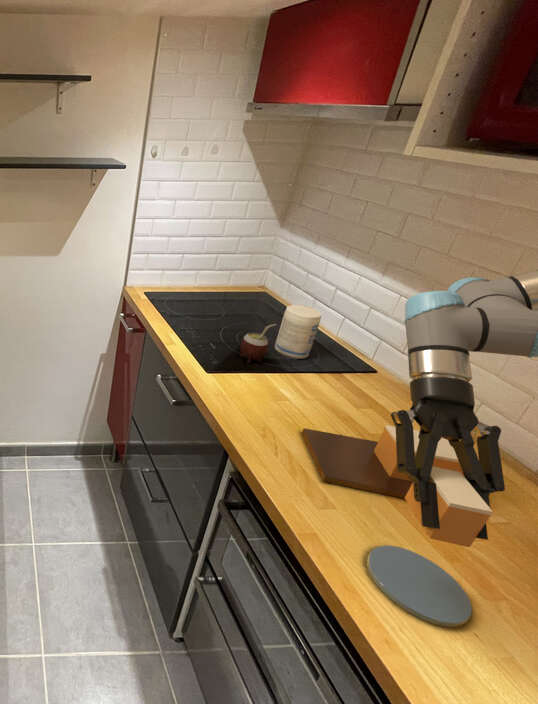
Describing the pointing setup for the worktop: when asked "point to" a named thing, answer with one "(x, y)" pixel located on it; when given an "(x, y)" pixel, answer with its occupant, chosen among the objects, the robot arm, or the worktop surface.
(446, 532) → the cake slice
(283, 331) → the supplement tub
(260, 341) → the mate gourd
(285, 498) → the worktop surface
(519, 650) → the worktop surface
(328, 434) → the serving board
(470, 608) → the plate
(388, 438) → the loaf cake
